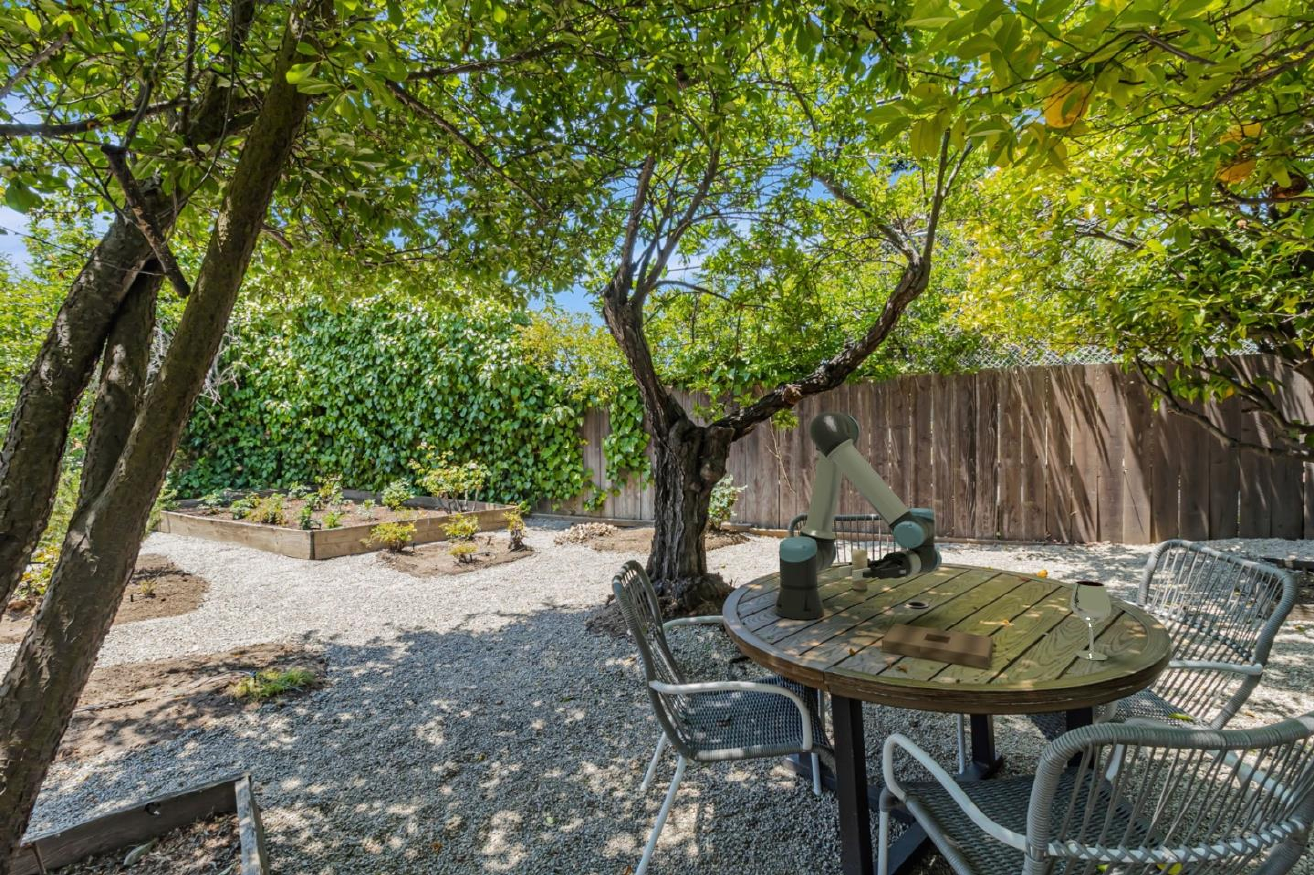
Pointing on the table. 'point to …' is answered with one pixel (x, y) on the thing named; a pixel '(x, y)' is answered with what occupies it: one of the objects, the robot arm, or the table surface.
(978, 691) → the table surface
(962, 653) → the board
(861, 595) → the peg
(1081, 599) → the wineglass
